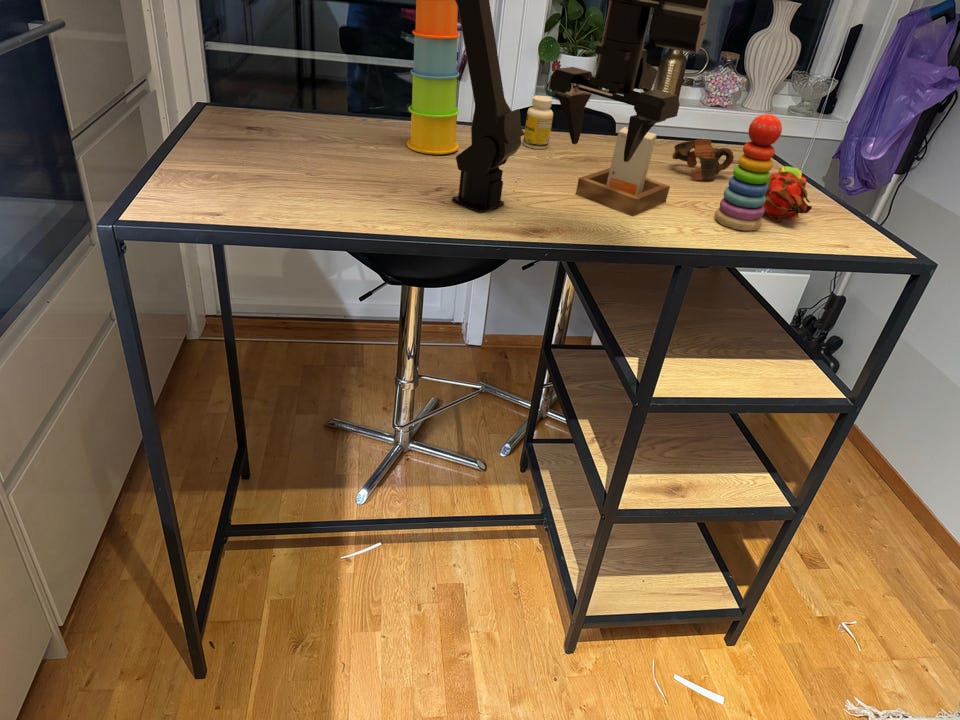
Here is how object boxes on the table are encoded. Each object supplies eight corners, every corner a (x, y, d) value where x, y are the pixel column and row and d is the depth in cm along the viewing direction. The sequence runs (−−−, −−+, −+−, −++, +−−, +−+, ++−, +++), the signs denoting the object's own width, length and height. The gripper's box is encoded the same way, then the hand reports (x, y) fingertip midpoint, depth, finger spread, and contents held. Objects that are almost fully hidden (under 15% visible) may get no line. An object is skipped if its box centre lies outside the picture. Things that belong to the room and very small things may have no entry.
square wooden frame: (575, 194, 128) (578, 178, 126) (631, 174, 141) (635, 159, 139) (632, 216, 122) (636, 199, 120) (685, 193, 135) (689, 178, 133)
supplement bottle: (519, 141, 151) (525, 94, 146) (542, 142, 153) (549, 95, 148) (527, 149, 147) (535, 101, 142) (551, 150, 149) (559, 102, 143)
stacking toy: (724, 211, 129) (757, 105, 119) (766, 225, 125) (804, 117, 115) (706, 221, 124) (739, 111, 113) (749, 236, 120) (788, 124, 110)
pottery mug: (677, 183, 142) (674, 141, 141) (670, 189, 151) (667, 150, 150) (739, 175, 140) (736, 132, 140) (728, 182, 150) (725, 142, 149)
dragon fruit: (765, 209, 136) (784, 244, 128) (739, 182, 132) (758, 217, 124) (805, 179, 132) (828, 214, 123) (780, 151, 128) (802, 185, 119)
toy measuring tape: (765, 207, 133) (777, 173, 130) (760, 177, 149) (771, 146, 146) (800, 214, 132) (813, 180, 129) (792, 183, 148) (803, 152, 145)
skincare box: (602, 197, 128) (617, 130, 121) (609, 191, 131) (624, 125, 125) (635, 206, 126) (651, 138, 119) (641, 199, 129) (657, 133, 123)
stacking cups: (424, 158, 135) (439, -51, 116) (397, 142, 141) (406, -58, 122) (468, 153, 140) (489, -47, 121) (439, 137, 147) (455, -54, 128)
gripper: (711, 50, 98) (680, 161, 106) (598, 24, 107) (578, 128, 116) (673, 55, 90) (644, 174, 99) (555, 27, 100) (538, 138, 108)
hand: (600, 152), depth 106 cm, fingers open, 9 cm apart
